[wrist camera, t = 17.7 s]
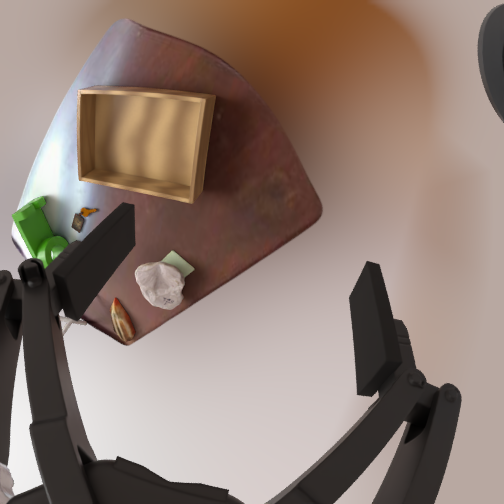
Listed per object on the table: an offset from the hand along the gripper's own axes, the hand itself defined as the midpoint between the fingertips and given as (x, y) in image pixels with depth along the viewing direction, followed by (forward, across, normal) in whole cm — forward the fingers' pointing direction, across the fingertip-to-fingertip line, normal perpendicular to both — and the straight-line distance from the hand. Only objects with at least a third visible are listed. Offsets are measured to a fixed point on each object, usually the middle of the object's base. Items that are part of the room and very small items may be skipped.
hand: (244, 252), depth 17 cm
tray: (+27, -19, -3) cm, 33 cm away
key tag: (+27, -32, -20) cm, 46 cm away
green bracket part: (+23, -43, -26) cm, 55 cm away
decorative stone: (+28, -26, -45) cm, 59 cm away
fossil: (+27, -15, -28) cm, 41 cm away
